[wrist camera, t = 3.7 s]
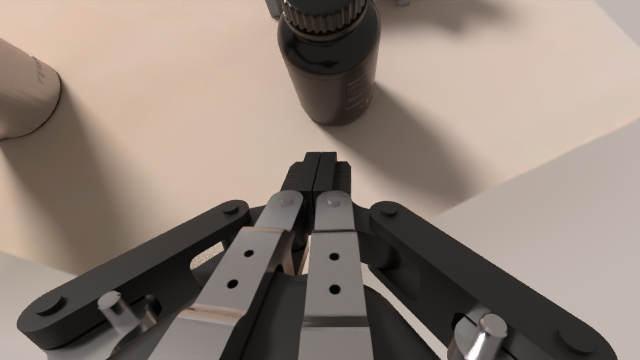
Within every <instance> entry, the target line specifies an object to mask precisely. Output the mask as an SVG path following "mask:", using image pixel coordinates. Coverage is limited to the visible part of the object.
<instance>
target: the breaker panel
mask: <svg viewBox="0 0 640 360" xmlns="http://www.w3.org/2000/svg"><path fill="white" fill-rule="evenodd" d="M265 1H266V4H267V6H268V9H269V12H270V14H271V17H272V16H281V0H265ZM408 4H409V0H398V6H402V5H408Z"/></svg>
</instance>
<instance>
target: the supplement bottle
mask: <svg viewBox="0 0 640 360" xmlns="http://www.w3.org/2000/svg"><path fill="white" fill-rule="evenodd" d="M281 4H282V11H283V12H282V14H281V17H280V20H279V24H278V30H277V39H278V45H279V48H280V51H281V54H282V57H283V59H284V62H285V65H286V67H287V70H288V72H289V75H290V77H291V80H292V82H293V85H294V87H295V90H296V93H297V95H298V98H299V100H300V102H301V105H302V107H303V109H304V110H305V112H306V113H307V114H308V115H309V116H310V117H311V118H312V119H313V120H315V121H316V122H318V123H321V124H324V125H328V126H340V125H345V124H348V123H350V122H352V121H354V120H356V119H357V118H359V117H360V116H361V115H362V114H363V113H364V112H365V110H366V109H367V107H368V106H369V104H370V101H371V98H372V93H373V87H374V80H375V72H376V65H377V57H378V50H379V42H380V32H381V22H380V17H379V13H378V11H377V8H376V6H375V4H374V3H373V1H372V0H281Z"/></svg>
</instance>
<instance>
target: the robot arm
mask: <svg viewBox="0 0 640 360" xmlns="http://www.w3.org/2000/svg"><path fill="white" fill-rule="evenodd" d="M59 94H60V81H59V77H58V75H57V73H56V72H55V70H54V69H52V68H51V67H50V66H48V65H47V64H45V63H43V62H42V61H40V60H38V59H36V58H35V57H34V56H32V55H30V54H28V53H26V52H24V51H22V50H21V49H19V48H17V47H15V46H14V45H12V44H10V43H8V42H7V41H5V40H3V39H2V38H0V140H1V139H2V138H6V137H19V136H23V135H26V134H28V133H30V132H32V131H33V130H35V129H36V128H38V127H39V126H40V125H41V124H43V123H44V122H45V121H46V120H47V118H48V117H49V116H50V115H51V113H52V112H53V110H54V108H55V106H56V104H57V101H58V99H59ZM309 235H311V245H310V257H309V268H308V274H303V275H302V271H303V268H304V264H305V261H306V258H307V254H308V251H309V242H308V237H309ZM220 241H221V242H222V245H223V248H224V251H222V252H221V253H219V254H217V255H216V256H214V257H213V258H211V259H209V260H208V261H206V262H205V263H203V264H201V265H200V266H198V267H197V268H195V269H193V270H191V269H190V263H191V261H192V259H193V258H194V257H195V256H197V255H199V254H200V253H202V252H204V251H205V250H207V249H209V248H210V247H212V246H214V245H215V244H217V243H219V242H220ZM360 262H362V263H365V264H368V268H369V270H370V271H371V272H372V273H373V274H374V275H375V276H376V277H377V278H378V279H379V280H380V281H381V282H382V283H383V284H384V285H385V286H386V287H387V288H388V289H389V290H390V291H391V292H392V293H393V294H394V295H395V296H396V297H397V298H398V299H399V300H400V301H401V302H402V303H403V304H404V305H405V306H406V307H407V308H408V309H409V310H410V311H411V312H412V313H413V314H414V315H415V316H416V317H417V318H418V319H419V320H420V321H421V322H422V323H423V324H424V325H425V326H426V327H427V328H428V329H429V330H430V331H431V332H432V333H433V334H434V335H435V336H436V337H437V338H438V339H439V340H440V341H441V342H442V343H443V344H444V345H445V346H446V347H447V348H448V351H447V358H448V360H618V359H617V356H616V354H615V352H614V350H613V349H612V347H611V346H610V344H609V343H608V342H607V341H606V340H605V339H604V337H602V336H601V335H600V334H599V333H598V332H597V331H596V330H595V329H593V328H592V327H590V326H589V325H588V324H586V323H585V322H583V321H581V320H580V319H578V318H577V317H575V316H573V315H572V314H571V313H569V312H567V311H566V310H564V309H563V308H561V307H560V306H558V305H556V304H555V303H553V302H552V301H550V300H549V299H547V298H546V297H544V296H543V295H541V294H539V293H538V292H536V291H534V290H533V289H532V288H530V287H528V286H527V285H525V284H524V283H522V282H521V281H519V280H517V279H516V278H514V277H513V276H511V275H510V274H508V273H506V272H505V271H504V270H502V269H500V268H499V267H497V266H496V265H494V264H492V263H491V262H490V261H488V260H486V259H485V258H483V257H482V256H480V255H478V254H477V253H475V252H474V251H472V250H471V249H469V248H468V247H466V246H465V245H463V244H461V243H460V242H458V241H457V240H455V239H454V238H452V237H451V236H449V235H448V234H446V233H444V232H443V231H441V230H440V229H438V228H437V227H435V226H433V225H432V224H430V223H429V222H427V221H426V220H424V219H423V218H421V217H420V216H418V215H416V214H415V213H413V212H412V211H410V210H409V209H407V208H406V207H404V206H402V205H401V204H399V203H396V202H391V201H381V202H378V203H375V204H373V205H372V206H371V208H370V209H367V208H363V207H360V206H358V205H356V204H355V203H354V202H353V201H352V199H351V166H350V165H349V163H348V162H347V161H337V152H322V153H321V152H307V153H306V155H305V158H304V161H303V162H295V163H294V164H293V165H292V166H291V167H290V169H289V171H288V174H287V176H286V178H285V180H284V183H283V185H282V188H281V190H280V192H278V193H276V194H274V195H273V196H272V197H271V198H270V200H269V201H268V203H267V205H264V206H260V207H255V208H250V209H249V206H248V204H247V203H246V202H245V201H242V200H231V201H227V202H224V203H222V204H220V205H218V206H216V207H214V208H212V209H210V210H208V211H206V212H204V213H202V214H200V215H199V216H197V217H195V218H193V219H191V220H189V221H187V222H185V223H183V224H181V225H179V226H177V227H175V228H173V229H171V230H169V231H167V232H165V233H163V234H161V235H159V236H157V237H155V238H153V239H151V240H149V241H147V242H145V243H144V244H142V245H140V246H138V247H136V248H134V249H132V250H130V251H128V252H126V253H124V254H122V255H120V256H118V257H116V258H114V259H112V260H110V261H108V262H106V263H104V264H102V265H100V266H98V267H96V268H94V269H92V270H90V271H89V272H87V273H85V274H83V275H81V276H79V277H77V278H75V279H73V280H71V281H69V282H67V283H65V284H63V285H61V286H59V287H57V288H55V289H53V290H51V291H50V292H47V293H46V294H44V295H42V296H41V297H39V298H38V299H36V300H35V301H34V302H32V303H31V304H30V305H29V306H28V307H27V308H26V309H25V310H24V311H23V312H22V314H21V315H20V316H19V318H18V320H17V328H18V329H19V330H20V331H21V332H22V333H23V334H24V335H26V336H27V337H28V338H29V339H30V340H31V341H32V342H34V343H35V344H36V345H37V346H38V347H39V348H41V349H42V350H43V351H44V352H45V353H46V354H47V357H48V360H441V359H440V358H439V357H438V356H437V355H436V354H435V352H434V351H433V350H432V349H431V348H430V347H429V346H428V345H427V343H426V342H425V341H424V340H423V339H422V338H421V337H420V336H419V335H418V333H416V331H415V330H414V329H413V328H412V327H411V326H410V325H409V324H408V322H407V321H406V320H405V319H404V318H403V317H402V316H401V314H400V313H399V312H398V311H397V310H396V309H395V308H394V307H393V306H392V305H391V304H390V302H389V301H388V300H387V299H386V298H384V297H383V296H382V295H381V294H380V293H378V292H377V291H375V290H374V289H372V288H370V287H368V286H366V285H364V284H363V280H362V272H361V263H360Z"/></svg>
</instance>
